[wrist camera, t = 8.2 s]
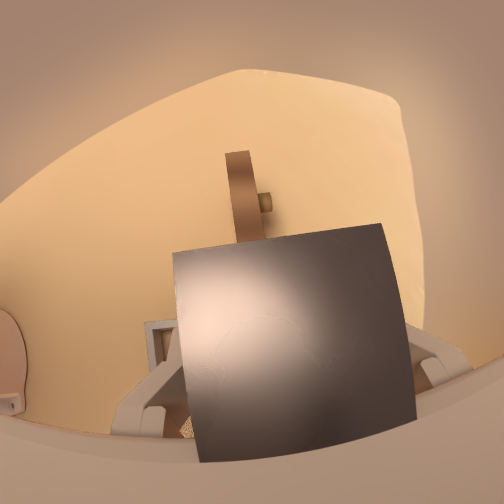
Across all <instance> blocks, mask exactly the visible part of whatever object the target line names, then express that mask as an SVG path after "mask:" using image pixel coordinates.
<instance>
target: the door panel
mask: <svg viewBox="0 0 504 504" xmlns="http://www.w3.org/2000/svg"><path fill="white" fill-rule="evenodd" d="M225 157H226V165H227V172H228V180H229V187H230V195H231V202H232V209H233V217H234V224H235V231H236V238H237V243H242V242H249V241H256V240H263V239H265V234H264V228H263V223H262V217H261V213H262V212H270V211H272V200H271V195H270V192H268V193H260V194H257V190H256V184H255V179H254V173H253V168H252V163H251V157H250V152H249V150H248V151H240V152H232V153H225Z"/></svg>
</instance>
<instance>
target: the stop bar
mask: <svg viewBox="0 0 504 504" xmlns="http://www.w3.org/2000/svg"><path fill="white" fill-rule="evenodd" d="M172 254H173V270H174V284H175V296H176V307H177V318H178V328H179V337H180V345H181V354H182V361H183V369H184V376H185V383H186V390H187V396H188V403H189V409H190V415H191V421H192V426H193V432H194V437H195V442H196V447H197V452H198V457H199V462H200V463H211V462H231V461H243V460H254V459H263V458H271V457H278V456H285V455H291V454H297V453H302V452H308V451H313V450H318V449H322V448H327V447H331V446H335V445H339V444H343V443H347V442H351V441H355V440H358V439H362V438H365V437H369V436H372V435H375V434H378V433H381V432H385V431H388V430H390V429H393V428H396V427H399V426H402V425H405V424H407V423H410V422H412V421H415V420H417V410H416V398H415V387H414V378H413V370H412V362H411V355H410V348H409V342H408V335H407V330H406V324H405V319H404V313H403V308H402V303H401V298H400V294H399V289H398V285H397V280H396V276H395V272H394V268H393V264H392V260H391V256H390V252H389V249H388V245H387V241H386V238H385V234H384V231H383V227H382V224H381V223H377V224H370V225H362V226H355V227H348V228H341V229H333V230H326V231H319V232H312V233H305V234H298V235H291V236H284V237H277V238H270V239H263V240H256V241H249V242H242V243H236V244H229V245H222V246H216V247H209V248H202V249H196V250H189V251H183V252H176V253H172Z"/></svg>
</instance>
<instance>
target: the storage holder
mask: <svg viewBox="0 0 504 504" xmlns="http://www.w3.org/2000/svg"><path fill="white" fill-rule="evenodd" d="M175 327H178V319H172V320H163V321H153V322H145V333H146V342H147V351H148V359H149V367H150V373H151V372H152V371H153V370H154V369H155V368H156V367H157V366H158V365H159V364H160V363H161V362H163V361H164V353H163V345H162V336H161V331H167V330H173V329H174V328H175Z"/></svg>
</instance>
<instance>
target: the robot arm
mask: <svg viewBox="0 0 504 504" xmlns="http://www.w3.org/2000/svg"><path fill="white" fill-rule="evenodd" d="M405 324H406V330H407V335H408V342H409V348H410V355H411V362H412V370H413V378H414V387H415V398H416V410H417V420H415V421H412V422H410V423H407V424H405V425H402V426H399V427H396V428H393V429H390V430H388V431H385V432H381V433H378V434H375V435H372V436H369V437H365V438H362V439H358V440H355V441H351V442H347V443H343V444H339V445H335V446H331V447H327V448H322V449H318V450H313V451H308V452H302V453H297V454H291V455H285V456H278V457H271V458H263V459H254V460H243V461H231V462H211V463H200V462H199V457H198V452H197V447H196V442H195V438H184V437H183V435H182V434H181V432H180V431H179V430H180V429H181V427H182V426H183V424H184V423H185V421H186V420H187V419H188V417H189V416H190V409H189V403H188V396H187V390H186V383H185V376H184V369H183V361H182V354H181V345H180V337H179V328H178V327H175V328H174V329H173V330H172V335H171V340H170V345H169V350H168V355H167V360H166V361H163V362H161V363H160V364H159V365H158V366H157V367H156V368H155V369H154V370H153V371H152V372H151V373H150V374H149V375H148V376H147V377H146V378H145V379H144V380H143V381H142V382H141V383H140V384H139V385H137V386H136V387H135V388H134V389H133V390H132V391H131V392H130V393H129V394H128V395H127V396H126V397H125V398H124V399H123V400H122V401H121V402H120V403H119V404H118V405H117V409H116V413H115V416H114V420H113V424H112V428H111V432H110V435H107V434H98V433H90V432H83V431H76V430H70V429H64V428H59V427H54V426H49V425H44V424H39V423H35V422H31V421H27V420H23V419H19V418H15V417H12V416H13V415H16V414H19V413H22V412H24V411H25V397H24V385H25V379H26V371H27V360H26V351H25V346H24V341H23V338H22V335H21V332H20V330H19V328H18V326H17V324H16V322H15V321H14V319H13V318H12V317H11V316H10V315H9V314H8V313H7V312H5V311H3V310H0V504H504V354H503V355H501V356H499V357H497V358H496V359H494V360H492V361H490V362H488V363H486V364H484V365H482V366H480V367H478V368H476V369H473V368H472V366H471V365H470V363H469V362H468V361H467V359H466V358H465V356H464V355H463V354H462V352H461V351H460V350H459V348H458V347H457V346H455V345H453V344H451V343H448V342H446V341H444V340H442V339H440V338H437V337H435V336H433V335H431V334H428V333H426V332H424V331H422V330H420V329H418V328H415V327H413V326H411V325H409V324H407V323H405Z"/></svg>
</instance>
